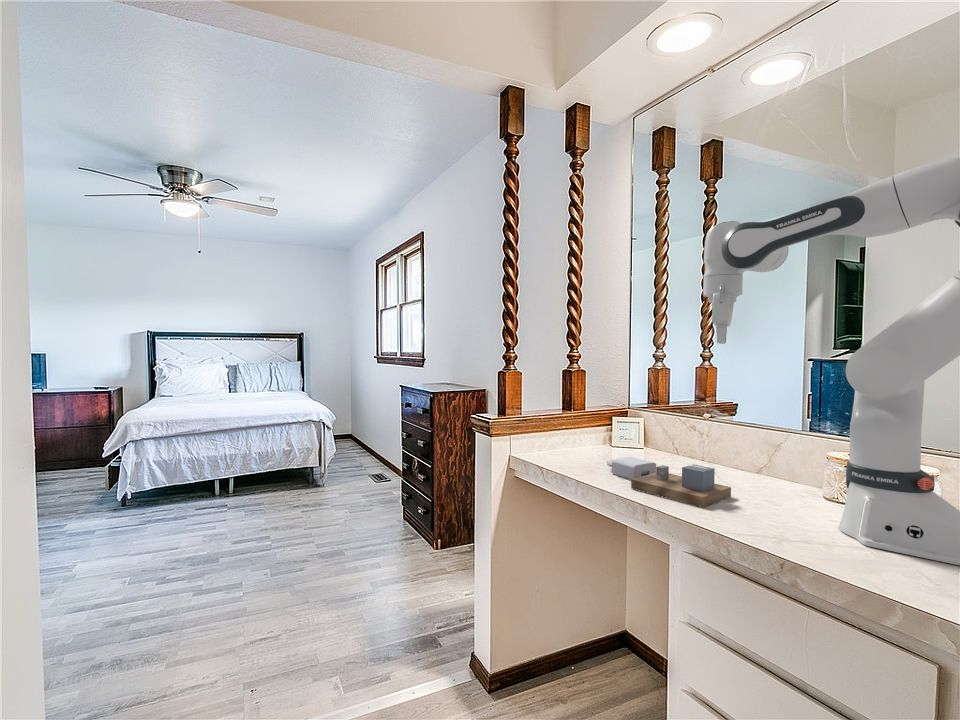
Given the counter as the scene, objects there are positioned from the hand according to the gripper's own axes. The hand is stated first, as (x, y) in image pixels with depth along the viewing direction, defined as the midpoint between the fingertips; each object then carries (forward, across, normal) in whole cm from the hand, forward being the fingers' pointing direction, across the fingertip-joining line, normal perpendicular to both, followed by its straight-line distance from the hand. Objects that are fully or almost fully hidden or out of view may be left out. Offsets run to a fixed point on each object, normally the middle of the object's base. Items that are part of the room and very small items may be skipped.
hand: (721, 343), depth 122 cm
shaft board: (+39, 0, +9) cm, 40 cm away
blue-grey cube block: (+37, -2, +5) cm, 37 cm away
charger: (+40, +14, +26) cm, 49 cm away
